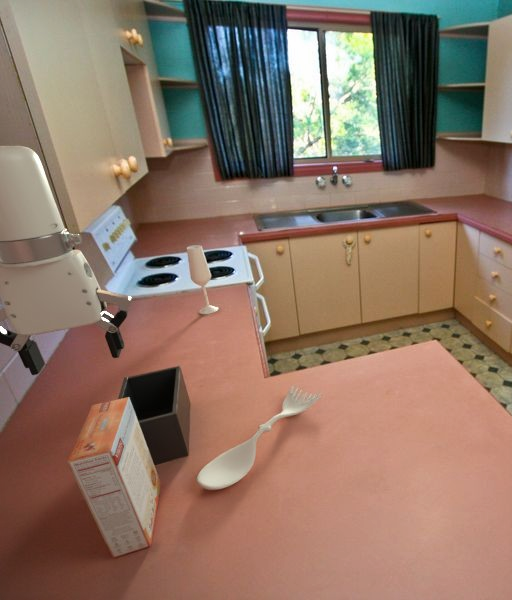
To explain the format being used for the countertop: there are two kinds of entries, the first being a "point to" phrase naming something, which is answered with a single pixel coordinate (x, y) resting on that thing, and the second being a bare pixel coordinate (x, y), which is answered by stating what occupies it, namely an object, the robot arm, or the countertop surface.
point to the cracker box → (117, 476)
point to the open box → (161, 411)
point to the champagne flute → (200, 273)
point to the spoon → (248, 447)
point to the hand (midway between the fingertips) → (79, 361)
